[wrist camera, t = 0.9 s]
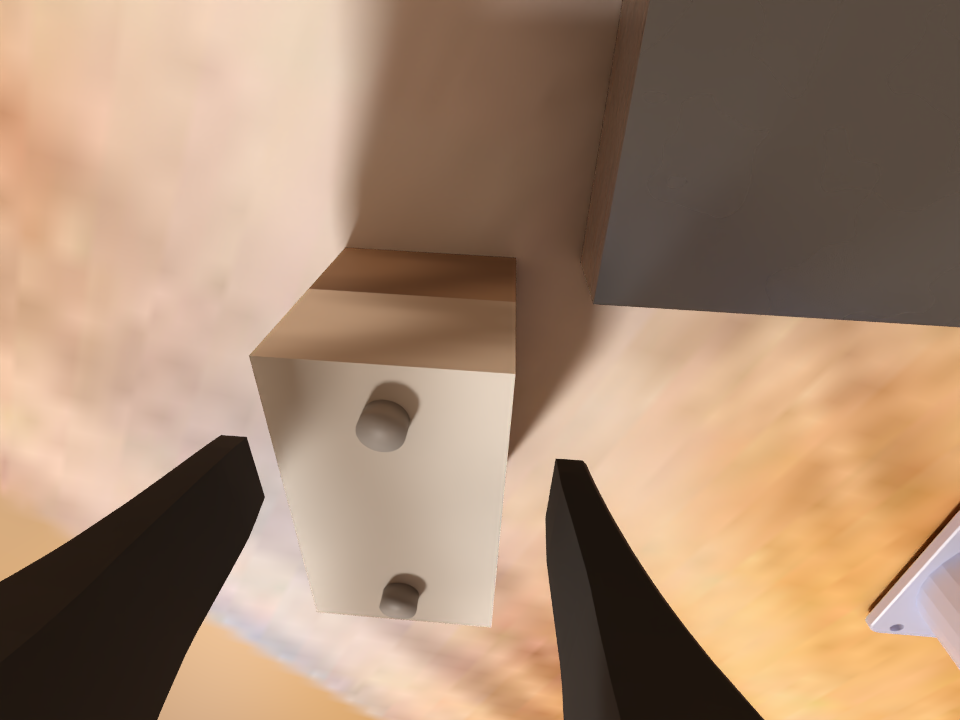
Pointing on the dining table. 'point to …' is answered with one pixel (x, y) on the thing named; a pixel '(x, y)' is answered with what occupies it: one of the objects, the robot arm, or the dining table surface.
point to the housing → (396, 430)
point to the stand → (781, 160)
